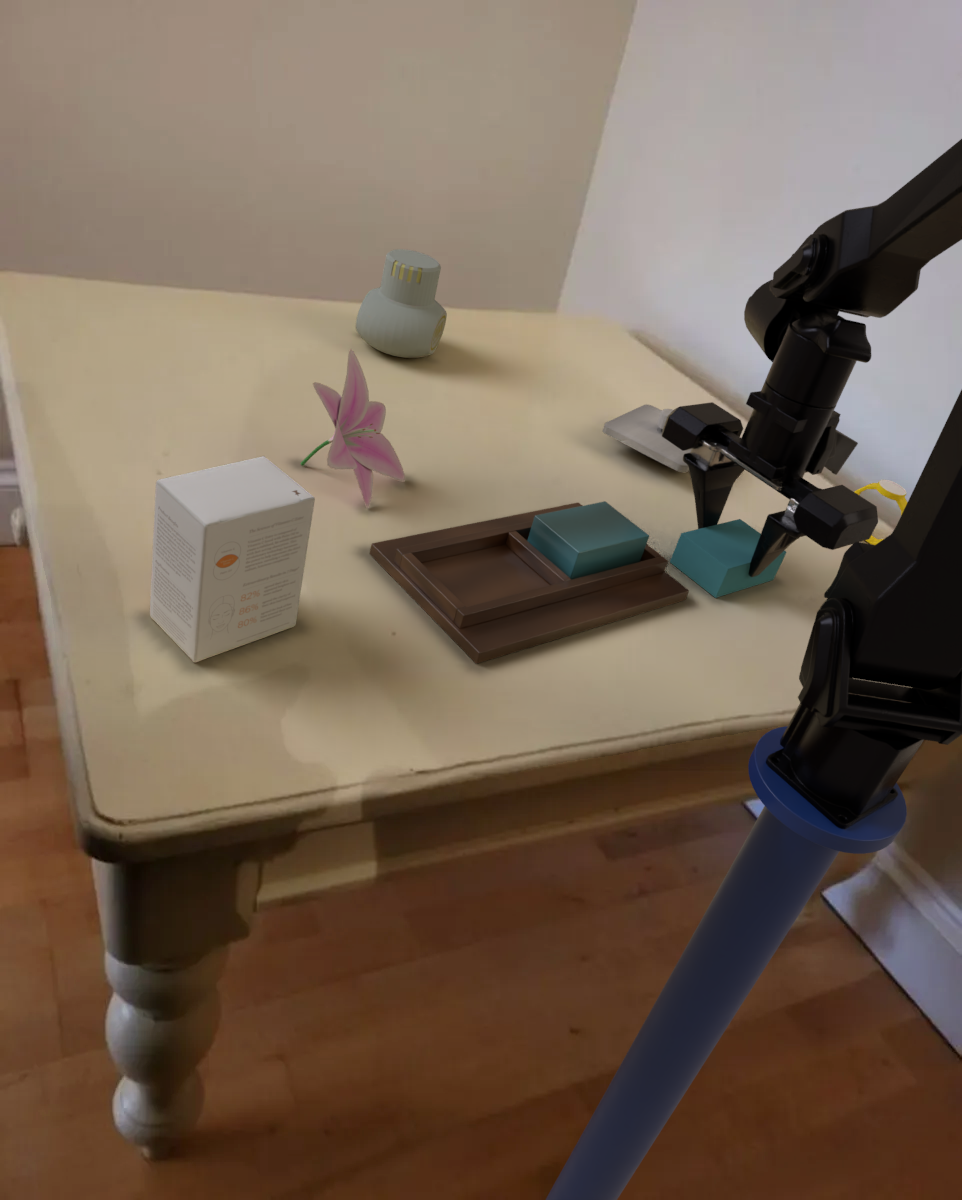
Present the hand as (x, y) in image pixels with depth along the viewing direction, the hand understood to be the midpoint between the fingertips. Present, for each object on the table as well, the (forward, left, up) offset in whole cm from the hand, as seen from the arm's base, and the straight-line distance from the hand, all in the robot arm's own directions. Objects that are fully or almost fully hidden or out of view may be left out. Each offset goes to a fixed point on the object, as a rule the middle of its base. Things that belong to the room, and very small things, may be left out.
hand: (728, 556), depth 88 cm
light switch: (+18, -10, -2) cm, 21 cm away
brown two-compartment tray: (+5, +18, -2) cm, 19 cm away
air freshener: (+46, +4, -2) cm, 46 cm away
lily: (+22, +25, -2) cm, 33 cm away
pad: (0, 0, -2) cm, 2 cm away
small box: (+8, +43, -2) cm, 44 cm away
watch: (-1, -21, -2) cm, 21 cm away
